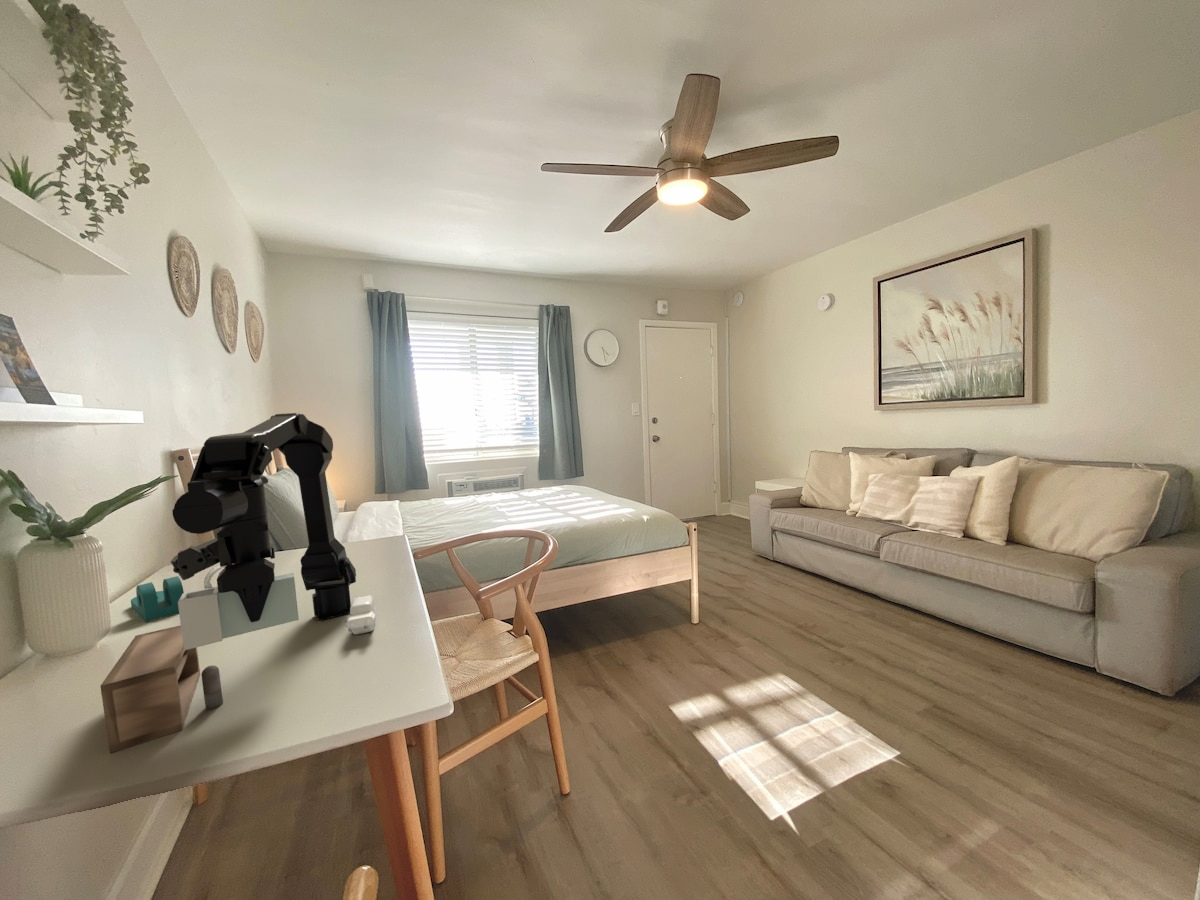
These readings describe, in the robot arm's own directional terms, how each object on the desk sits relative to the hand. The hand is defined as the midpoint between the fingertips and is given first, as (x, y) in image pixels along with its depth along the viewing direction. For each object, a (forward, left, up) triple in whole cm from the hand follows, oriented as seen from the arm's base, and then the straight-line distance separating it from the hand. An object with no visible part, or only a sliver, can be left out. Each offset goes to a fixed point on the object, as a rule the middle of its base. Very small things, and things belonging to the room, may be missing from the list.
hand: (255, 618), depth 72 cm
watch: (+7, -46, -12) cm, 47 cm away
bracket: (+22, -62, -12) cm, 66 cm away
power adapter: (-15, -11, -12) cm, 22 cm away
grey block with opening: (+1, 0, -2) cm, 2 cm away
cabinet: (+10, -5, -11) cm, 16 cm away
